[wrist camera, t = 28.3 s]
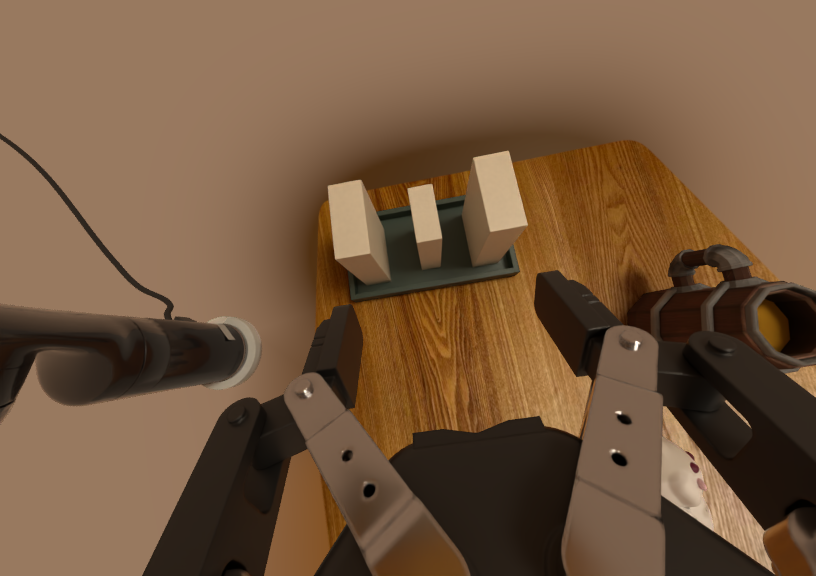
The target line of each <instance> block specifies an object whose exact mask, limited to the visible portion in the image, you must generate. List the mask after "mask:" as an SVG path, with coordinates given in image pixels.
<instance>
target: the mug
mask: <svg viewBox="0 0 816 576" xmlns="http://www.w3.org/2000/svg"><path fill="white" fill-rule="evenodd" d="M702 265H709V266H711V267H717V268H718V269H717V271H718V272H722V274H723V277H724V280H725V281H722V282H720V283H719V284H718V285H717V286H716V287H713V288H711V287H709V286H706V285H703V284H701V283H698V284H694V280H693V276H692V275H694V274H695V270H694V269H696V268H698V267H699V266H702ZM751 265H753V264H752V262H750V261H749V259H748V257H747V256H746V255H744V254H743V253H742V252H740V251H739V250H737V249H735V248H732V247H730V246H724V245H721V244H717V245H712V246H710V247H708V248H707V249H703V250H698V251H693V250H691V249H688V250H683V251H681V252H680V253H679V254H677V255H676V256H675V258H674V259H673V261H672V262H671V263H670V267H669V271H668V276H669V277H672V281H673V284H674V287H671V288H670V289H665V290H660V291H655V292H650V293H646V294H643V295H642V296H641V298H640V299H639V300H638V301H637V302H636V304H635V305H634V306H633V307H632V308H631V309H630V311H629V312H628V326H632V327H636V328H639V329H642V330H644V331H646V332H647V333H649V334H650V335H652V336H653V337H654V338H655V339H656V340H658V341H669V342H682V343H687V341H688V339H689V337H690V336H691V335H692V334H693V333H695V332H699V331H713V332H719V333H723V334H726V335H729V336H732V337H734V338H736V339H738V340H740V341H742V342H744V343H745V344H746V345H748V346H749V347H750V348H752V349H753V350H754V351H756V352H757V353H758V354H760V355H761V356H762V357H763V358H765V359H766V360H767V361H769V362H770V363H771V364H773V365H774V366H775V367H776V368H778V369H779V370H780V371H782V372H783V373H784V374H785V373H790V372H796V371H798V370H799V369H800V368H801V367H807V366H812V365H816V291H814V290H812V289H809V288H806V287H803V286H801V285H798V284H795V283H787V282H785V281H777V282H768V281H766V280H763V279H760V278H758V277H752V276H751V273H750V270H749V267H748V266H751Z"/></svg>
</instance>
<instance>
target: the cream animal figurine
mask: <svg viewBox="0 0 816 576" xmlns="http://www.w3.org/2000/svg"><path fill="white" fill-rule="evenodd" d="M703 490H704V491H706V490H707V487H706V485H705V483H704V479H703V475H702V472H701V470H700V469H699V467H698V465H697V464H696V463H695V462H694V457H693V455H692V454H691V453H689V452H687V451H684V450H683V449H682V448H680V447H679V446H678V445H676V444H675V443H673V442H672V441H670V440H668V439H666V438H665V437H663V436H662V474H661V495H662V496H663V497H665V498H666V499H668V500H669V501H671V502H672V503H673V504H675V505H676V506H678V507H679V508H681V509H682V510H683V511H685V512H686V513H688V514H689V515H691V516H692V517H694V518H695V519H696V520H698V521H699V522H701V523H702V524H704V525H705V526H706V527H708V528H709V529H711V530H712V531H714V526H713V519H712V515H711V512H710V510H709V508H708V505H707V503H706V502H705V500H704V498H703Z"/></svg>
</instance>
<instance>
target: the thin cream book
mask: <svg viewBox="0 0 816 576" xmlns="http://www.w3.org/2000/svg"><path fill="white" fill-rule="evenodd" d="M408 195H409V201H410V207H411V213H412V219H413V225H414V231H415V236H416V242H417V247H418V253H419V258H420V263H421V268H422V270H426V269H432V268H437V267H441V251H442V234H441V229H440V223H439V218H438V213H437V207H436V202H435V197H434V191H433V186H432V184H428V185H423V186H418V187H413V188H408Z"/></svg>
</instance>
